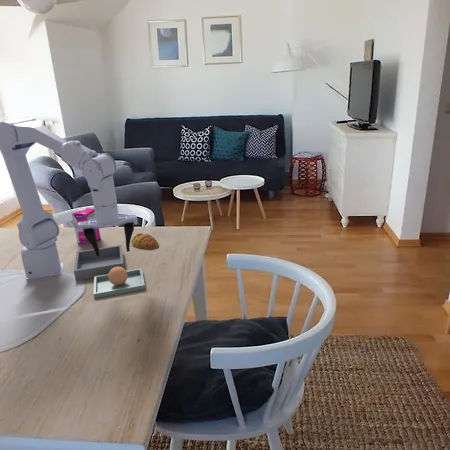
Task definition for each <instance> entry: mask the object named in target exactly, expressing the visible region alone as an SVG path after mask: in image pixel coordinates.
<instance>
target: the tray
mask: <svg viewBox="0 0 450 450" xmlns="http://www.w3.org/2000/svg"><path fill="white" fill-rule="evenodd" d="M126 272H127V275H128V277H127V280H126V282H125V283H124V284H122V285H113V284H112V283H111V282H110V281H109V278H108V275H109V274H105V275H99V276H94V278H93V294H92V295H93V299H97V298H103V297H109V296H115V295H120V294H126V293H133V292H138V291H144V290H146V284H145V278H144V273H143V269H142V268H135V269H130V270H126Z"/></svg>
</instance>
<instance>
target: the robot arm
mask: <svg viewBox="0 0 450 450" xmlns="http://www.w3.org/2000/svg"><path fill="white" fill-rule="evenodd" d="M36 143H37V144H39V145H41V146H43V147H45V148H47V149H50V150H51V151H52V152H53V151H54V152H56V153H58V154H59V155H60V158H61V160H62V161H63V162H65V163H66V164H68V165H70V166H72V167H73V168H75V169H76V170H78V171H80V172H81V173H82V175H83V178H84V179H85V180H86V181H87V185H88V187H89V189H90V193H91V199H92V205H93V209H94V211H95V216H96V219H92V220H88V221H84V222H79V223H78V227H79V232H83V231H84V236H85V237H86V238H87V240H88V241H89V242H90V243H91V244H90V245H91V246H92V248H93V249H94V250H95V252H96V255H97V256H100V252H99V248H100V247H99V244H98V241H97V239H96V232H95V229H98V228H99V229H106V228H112V227H119V226H123V230H124V236H125V248H126V252H130V247H131V245H130V244H131V241H132V236H133V233H134V230H135V226H134V225H138V224H139V223H138V217H137V214H132V215H131V214H130V215H129V214H127V215H126V214H125V215H123V214H122V215H119V208H118V207H119V206H118V201H117V193H116V189H115V187H116V186H115V181H114V175H115V173H116V171H117V162H116V160H115V159H114V157H113V156H111V155H110V154H109V153H108V152H103V153H99V152H97V151H96V150H94V149H93V150H92V149H90V148H89V147H86V146H85V145H83V144H82V142H81V141H79V140H76V139H75V140H69V141H66V140H65V139H64V138H62V137H60V136H59V135H58V134H56V133H55V132H53V131H51V130H50V129H49V128H47V127H45V126H44V123H43V122H42V121H41V120H38V119H37V118H35V117H33V116H28V117H26V118H20V119H19V118H18V119H14V120H13V119H12V120H7V121H5V120H4V121H0V154H2V158H3V161H4V164H5V166H6V170H7V172H8V174H9V178H10V181H11V184H12V186H13V188H14V189H13V190H14V192H15V195H16V198H17V202H18V204H19V207H20V210H21V213H22V216H21V218H20V220H19V221H18V222H17V224H16V226H17V229H18V239H19V242H20V243H21V244H22V245H23V247H21V251H20V253H21V261H22V265H23V269H24V272H25V277H26V278H28V280H33V279H38V278H44V277H52V276H57V275H58V276H59V275H61V274H63V273H62V272H63V267H64V262H62V261H61V260H60V256H59V251H58V248H57V246H58V245H57V241H58V236H59V235H60V226H59V224H58V222H57V221H56V220H55V218H54V215H53V213H52V212H49V211H48V210H45V209H44V208H43V207H44V206H43V204H42V201H41V199H40V195H39V192H38V189H37V186H36V183H35V180H34V177H33V174H32V171H31V168H30V165H29V162H28V159H27V153H28V152H29V150H30V148H31V147H32V146H34V145H35V144H36ZM32 277H33V278H32Z"/></svg>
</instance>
